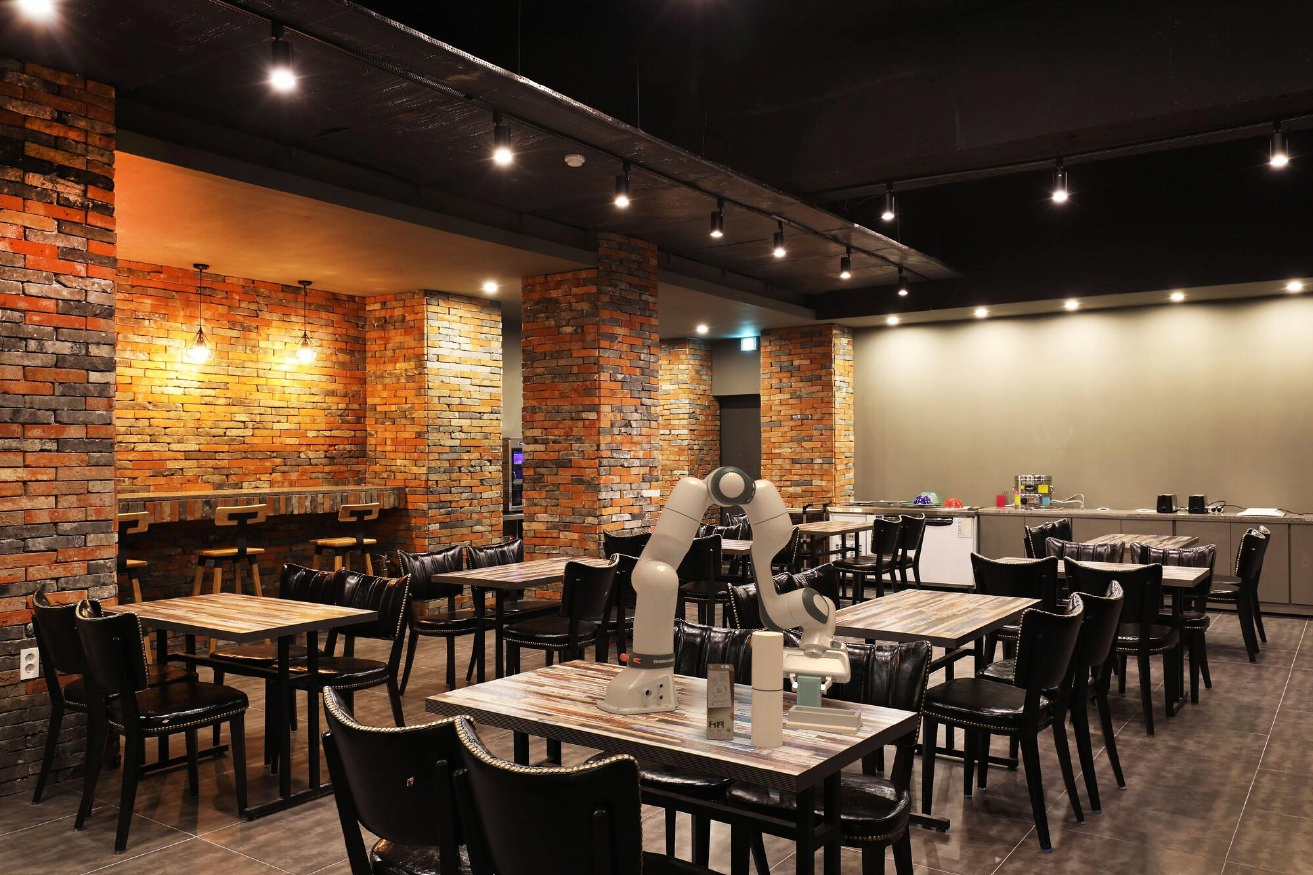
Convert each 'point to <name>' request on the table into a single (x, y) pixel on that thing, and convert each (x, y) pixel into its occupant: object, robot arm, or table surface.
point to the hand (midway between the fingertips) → (808, 691)
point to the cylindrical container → (767, 689)
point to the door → (809, 691)
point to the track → (824, 719)
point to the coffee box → (720, 701)
